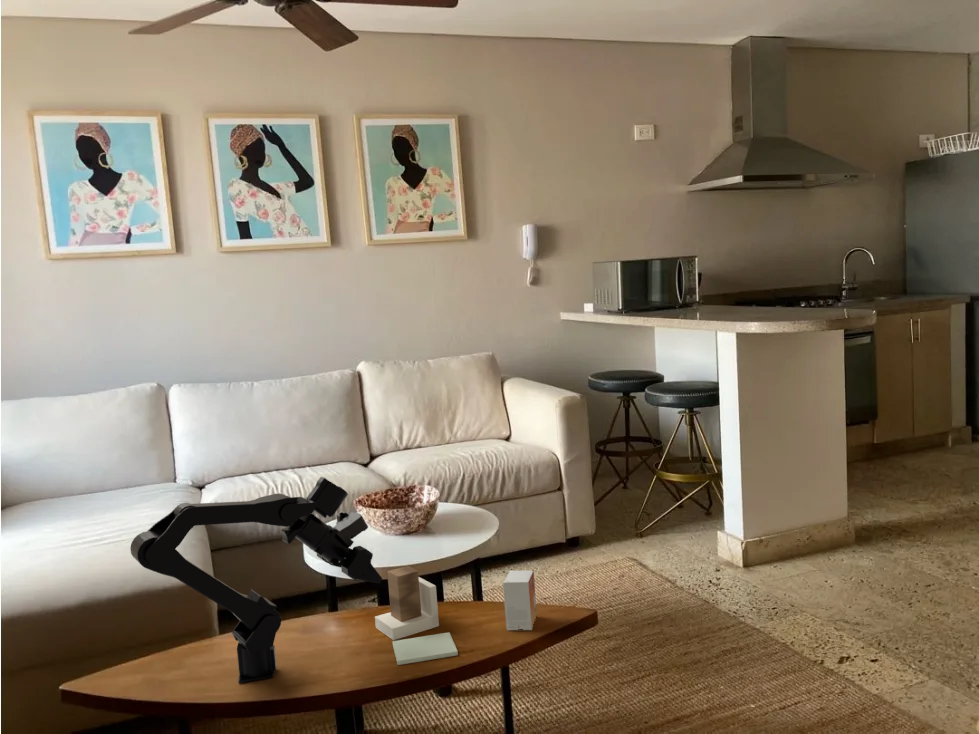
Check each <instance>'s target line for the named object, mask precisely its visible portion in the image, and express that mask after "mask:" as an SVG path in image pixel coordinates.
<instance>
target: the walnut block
mask: <svg viewBox="0 0 979 734" xmlns="http://www.w3.org/2000/svg"><path fill="white" fill-rule="evenodd" d="M386 573H387V584H388V595H389V604H390V605H389V607H390V612H391V616H392V617H394V618H395V619H397V620H398V621H400V622H403V621H407V620H410V619H413V618H417V617H420V616H422V614H421V601H420V589H419V577H420V576H419V571H418V569H417V570H416V569H415V568H413V567H411V566H409V565H406V566H402V567H398V568H395V569H390V570H388V571H386Z"/></svg>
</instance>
